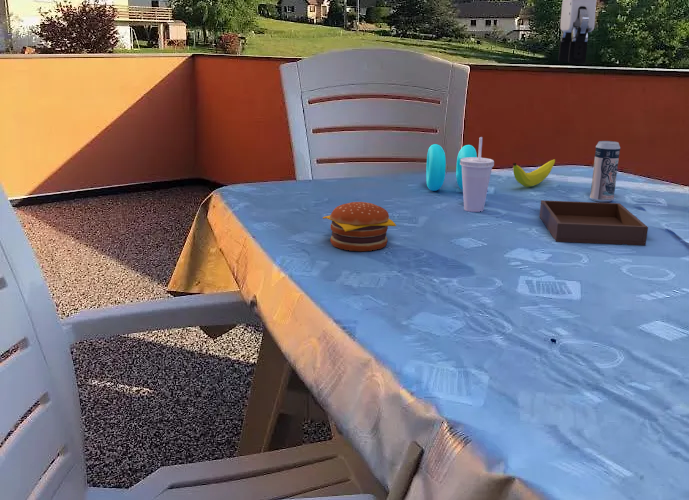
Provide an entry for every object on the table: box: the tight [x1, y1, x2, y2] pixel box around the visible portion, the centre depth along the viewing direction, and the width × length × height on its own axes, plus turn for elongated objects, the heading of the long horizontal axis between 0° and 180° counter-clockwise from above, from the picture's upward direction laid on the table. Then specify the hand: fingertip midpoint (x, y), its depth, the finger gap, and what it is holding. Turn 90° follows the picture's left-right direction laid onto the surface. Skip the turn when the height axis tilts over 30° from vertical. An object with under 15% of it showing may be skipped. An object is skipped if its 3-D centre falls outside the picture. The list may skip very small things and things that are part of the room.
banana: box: [512, 158, 556, 188], centre depth 159 cm, size 3×19×6 cm, turn 137°
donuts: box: [425, 143, 478, 192], centre depth 152 cm, size 10×10×10 cm
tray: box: [539, 199, 649, 246], centre depth 123 cm, size 14×17×3 cm
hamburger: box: [322, 201, 397, 252], centre depth 112 cm, size 9×10×7 cm
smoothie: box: [460, 136, 495, 213], centre depth 135 cm, size 6×6×14 cm
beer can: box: [589, 140, 621, 203], centre depth 145 cm, size 5×5×12 cm
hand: (571, 62), depth 143 cm, fingers open, 9 cm apart
